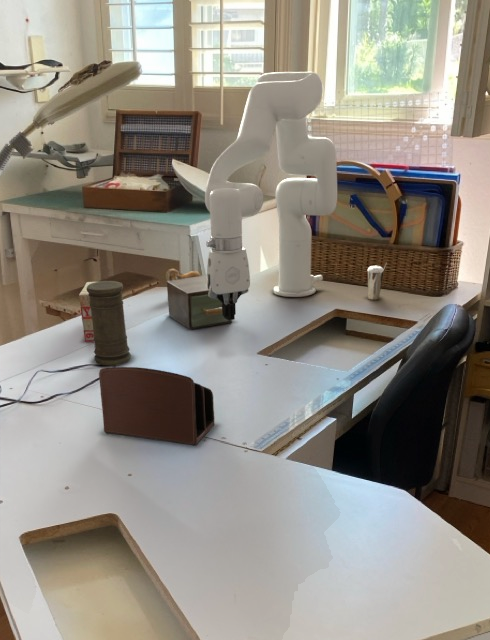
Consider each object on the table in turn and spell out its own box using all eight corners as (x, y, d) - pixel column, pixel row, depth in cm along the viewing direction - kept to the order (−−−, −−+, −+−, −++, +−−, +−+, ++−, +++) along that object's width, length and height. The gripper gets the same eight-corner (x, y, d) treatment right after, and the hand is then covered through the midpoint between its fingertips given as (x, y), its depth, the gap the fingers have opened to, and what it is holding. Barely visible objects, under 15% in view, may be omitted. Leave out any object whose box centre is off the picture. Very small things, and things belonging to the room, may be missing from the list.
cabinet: (232, 322, 221) (231, 286, 216) (189, 329, 217) (187, 293, 212) (209, 309, 232) (208, 275, 227) (169, 316, 228) (166, 281, 223)
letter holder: (196, 446, 154) (192, 375, 147) (103, 433, 161) (95, 364, 153) (215, 425, 162) (212, 357, 155) (126, 414, 168) (119, 348, 161)
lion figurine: (175, 302, 239) (173, 271, 235) (162, 299, 243) (160, 268, 238) (210, 291, 248) (209, 261, 244) (198, 289, 252) (196, 259, 247)
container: (115, 368, 193) (107, 291, 183) (86, 362, 197) (77, 287, 187) (138, 357, 199) (132, 282, 190) (110, 351, 203) (102, 278, 194)
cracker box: (97, 317, 229) (92, 273, 222) (119, 317, 229) (114, 272, 222) (84, 342, 211) (78, 294, 204) (108, 341, 210) (103, 293, 204)
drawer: (239, 325, 216) (239, 295, 212) (200, 331, 212) (199, 301, 208) (211, 308, 230) (210, 280, 226) (173, 314, 226) (172, 286, 222)
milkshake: (385, 300, 234) (388, 264, 229) (367, 300, 235) (369, 265, 229) (383, 295, 238) (385, 260, 233) (364, 296, 238) (366, 261, 233)
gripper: (204, 250, 192) (208, 327, 202) (261, 242, 197) (261, 317, 207) (192, 244, 198) (196, 319, 208) (247, 237, 203) (248, 310, 213)
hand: (229, 318), depth 207 cm, fingers closed
